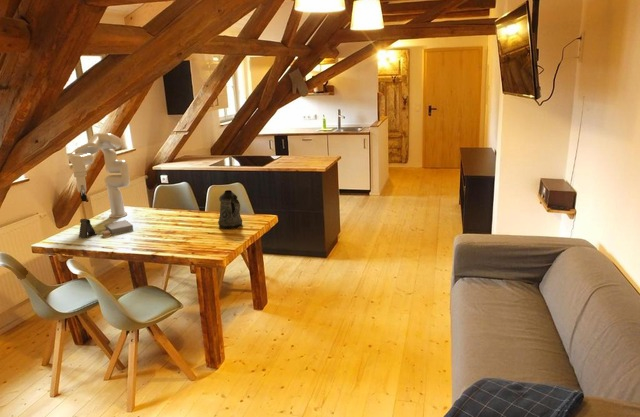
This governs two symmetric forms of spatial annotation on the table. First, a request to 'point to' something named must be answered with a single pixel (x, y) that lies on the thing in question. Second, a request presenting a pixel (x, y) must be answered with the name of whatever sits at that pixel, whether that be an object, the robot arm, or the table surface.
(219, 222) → the dark grey upright piece
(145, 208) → the table surface
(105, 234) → the walnut offcut
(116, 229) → the stand
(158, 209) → the table surface
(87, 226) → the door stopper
